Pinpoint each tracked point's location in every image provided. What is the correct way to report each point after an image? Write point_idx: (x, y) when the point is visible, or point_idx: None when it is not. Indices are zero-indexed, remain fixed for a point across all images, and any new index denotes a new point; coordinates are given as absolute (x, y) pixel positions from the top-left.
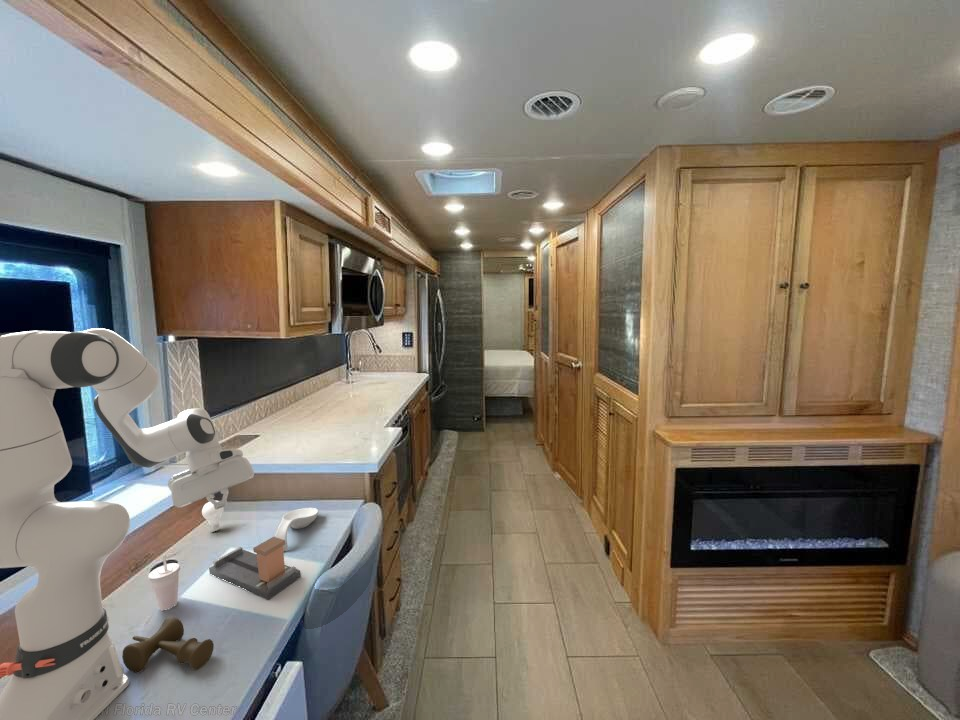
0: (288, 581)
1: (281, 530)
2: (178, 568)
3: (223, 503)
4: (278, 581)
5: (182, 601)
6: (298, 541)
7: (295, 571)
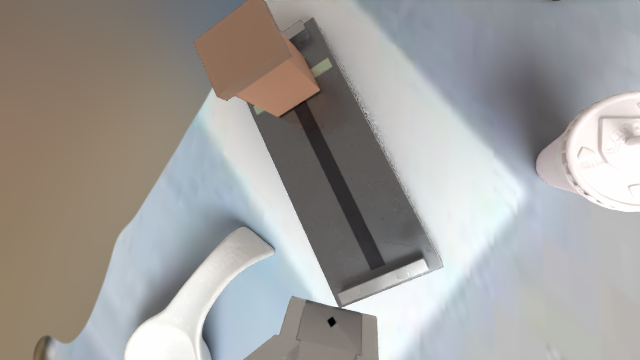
0: None
1: (217, 273)
2: (570, 132)
3: (303, 310)
4: None
5: (521, 160)
6: None
7: None
